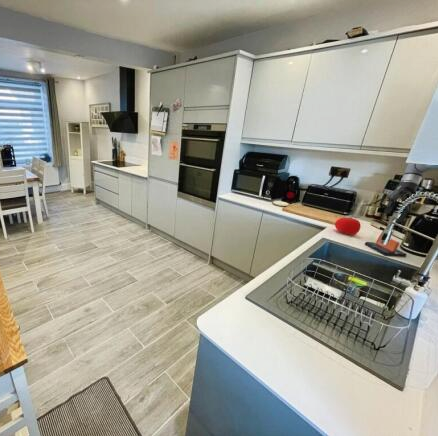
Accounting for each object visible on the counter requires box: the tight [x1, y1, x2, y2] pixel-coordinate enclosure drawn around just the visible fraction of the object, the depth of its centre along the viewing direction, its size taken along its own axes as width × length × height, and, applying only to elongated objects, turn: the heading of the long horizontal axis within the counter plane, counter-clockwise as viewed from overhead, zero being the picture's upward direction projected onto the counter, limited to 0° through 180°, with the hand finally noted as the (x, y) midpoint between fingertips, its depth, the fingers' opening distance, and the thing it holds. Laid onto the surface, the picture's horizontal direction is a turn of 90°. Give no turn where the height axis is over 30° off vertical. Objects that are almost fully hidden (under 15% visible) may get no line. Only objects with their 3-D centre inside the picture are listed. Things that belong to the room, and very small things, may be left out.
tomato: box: [334, 216, 361, 236], centre depth 166 cm, size 12×14×11 cm
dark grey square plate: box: [364, 241, 408, 258], centre depth 144 cm, size 15×15×2 cm
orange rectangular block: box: [376, 233, 400, 252], centre depth 142 cm, size 11×2×6 cm, turn 178°
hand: (393, 217), depth 137 cm, fingers open, 13 cm apart
